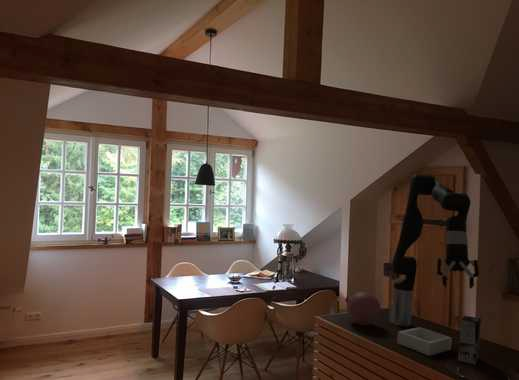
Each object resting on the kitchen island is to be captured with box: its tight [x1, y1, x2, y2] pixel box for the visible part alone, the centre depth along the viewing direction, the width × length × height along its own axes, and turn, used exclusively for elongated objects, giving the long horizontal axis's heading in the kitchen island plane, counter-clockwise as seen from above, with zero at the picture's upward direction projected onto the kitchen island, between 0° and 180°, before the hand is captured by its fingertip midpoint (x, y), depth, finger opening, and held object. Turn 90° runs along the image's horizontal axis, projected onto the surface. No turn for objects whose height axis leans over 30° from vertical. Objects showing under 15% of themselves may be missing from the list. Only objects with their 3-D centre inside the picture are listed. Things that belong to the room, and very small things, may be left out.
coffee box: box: [457, 315, 482, 366], centre depth 175 cm, size 9×6×16 cm
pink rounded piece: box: [344, 291, 382, 326], centre depth 212 cm, size 15×20×15 cm
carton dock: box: [396, 326, 453, 357], centre depth 186 cm, size 15×16×5 cm
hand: (458, 287), depth 164 cm, fingers open, 8 cm apart
